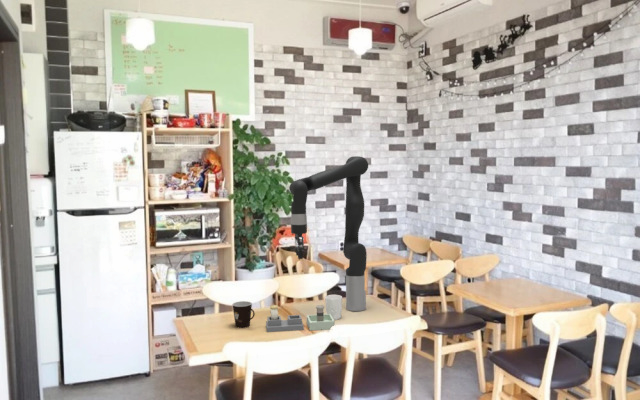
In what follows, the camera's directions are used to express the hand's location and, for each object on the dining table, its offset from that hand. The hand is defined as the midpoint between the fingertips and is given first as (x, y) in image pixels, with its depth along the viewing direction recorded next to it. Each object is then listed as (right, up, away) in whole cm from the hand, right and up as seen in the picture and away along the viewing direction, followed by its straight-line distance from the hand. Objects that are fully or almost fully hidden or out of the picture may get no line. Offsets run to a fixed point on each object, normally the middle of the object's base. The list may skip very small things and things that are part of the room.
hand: (299, 257), depth 248 cm
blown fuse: (+10, -28, -14) cm, 33 cm away
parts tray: (+10, -29, -14) cm, 34 cm away
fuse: (-10, -28, -17) cm, 34 cm away
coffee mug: (-25, -30, -14) cm, 41 cm away
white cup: (+16, -28, -2) cm, 33 cm away
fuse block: (-6, -30, -16) cm, 34 cm away
